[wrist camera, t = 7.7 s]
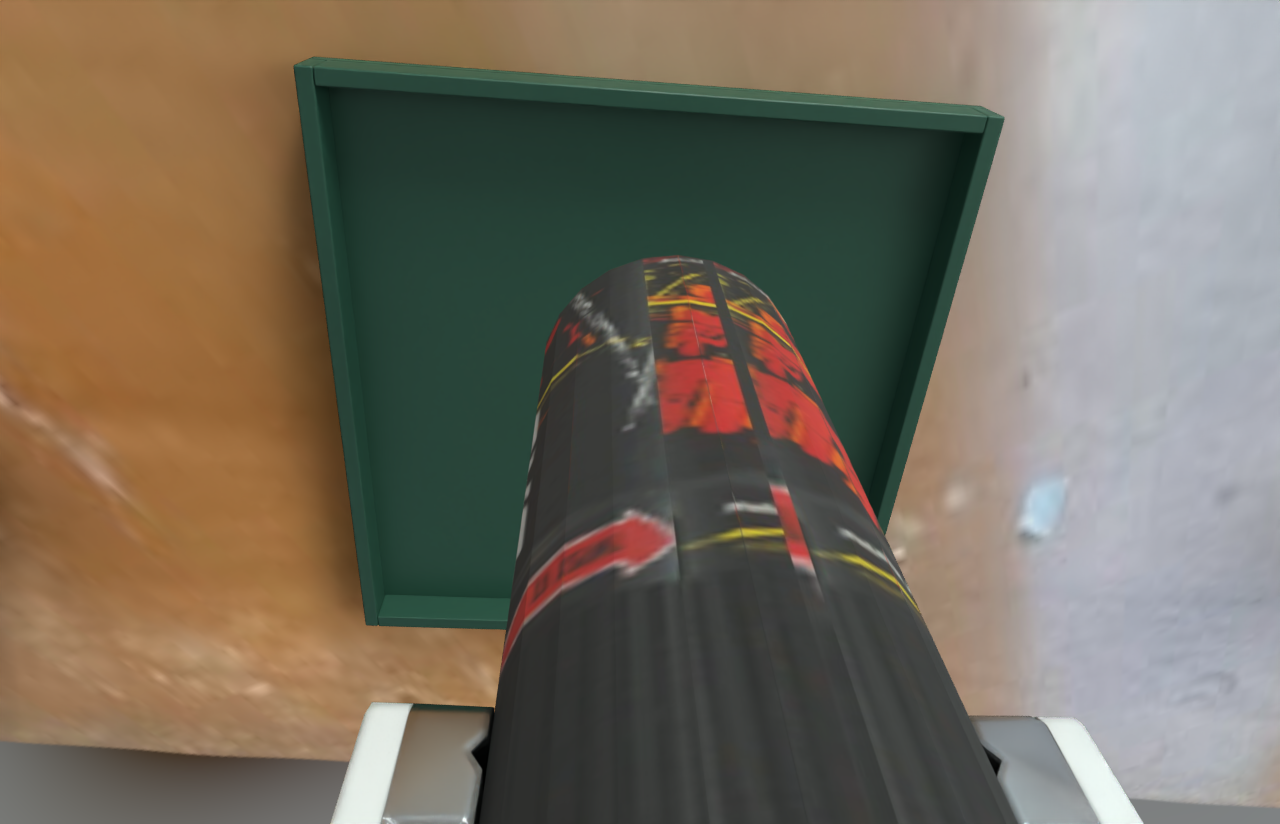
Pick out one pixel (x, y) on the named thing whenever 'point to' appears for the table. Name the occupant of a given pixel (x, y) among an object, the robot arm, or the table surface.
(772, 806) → the deodorant
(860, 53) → the table surface
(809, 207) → the tray
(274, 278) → the table surface
